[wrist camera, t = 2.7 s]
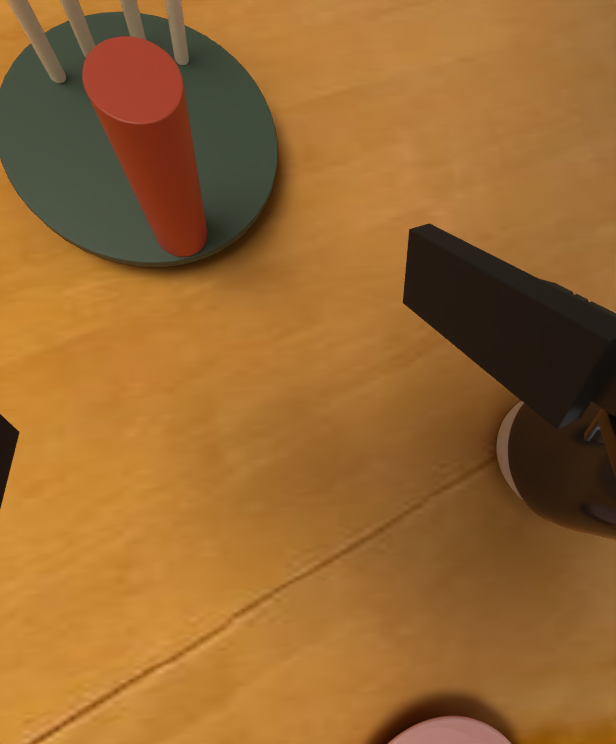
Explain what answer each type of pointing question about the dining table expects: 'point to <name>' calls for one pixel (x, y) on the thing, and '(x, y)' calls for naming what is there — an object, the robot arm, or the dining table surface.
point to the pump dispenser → (559, 470)
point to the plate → (450, 732)
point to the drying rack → (135, 135)
